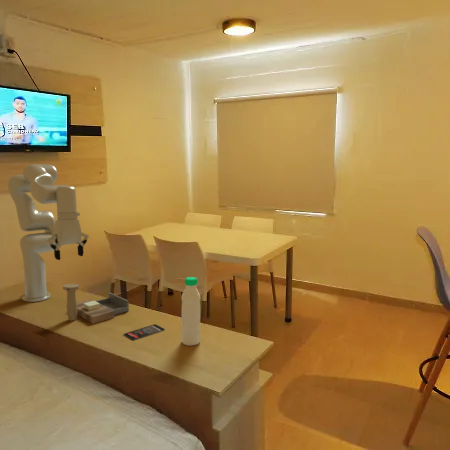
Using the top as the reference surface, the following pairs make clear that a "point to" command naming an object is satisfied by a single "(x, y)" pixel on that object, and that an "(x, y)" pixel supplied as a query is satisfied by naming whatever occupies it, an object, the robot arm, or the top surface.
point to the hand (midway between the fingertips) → (69, 257)
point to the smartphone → (143, 332)
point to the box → (115, 304)
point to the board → (94, 313)
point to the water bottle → (190, 313)
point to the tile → (91, 305)
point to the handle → (71, 300)
